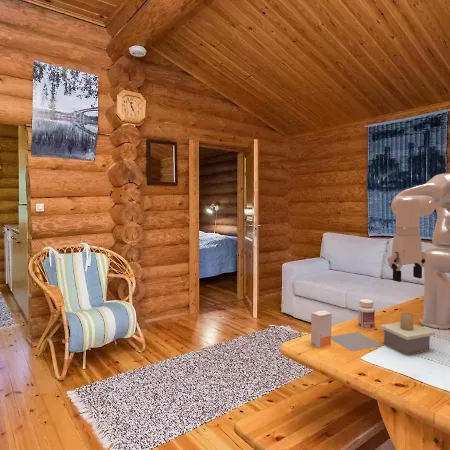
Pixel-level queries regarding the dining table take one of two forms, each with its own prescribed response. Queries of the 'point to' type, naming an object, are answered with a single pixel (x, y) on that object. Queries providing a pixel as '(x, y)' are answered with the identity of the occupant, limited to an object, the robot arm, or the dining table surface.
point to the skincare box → (321, 328)
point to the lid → (407, 328)
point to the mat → (355, 341)
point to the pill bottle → (366, 315)
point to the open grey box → (406, 343)
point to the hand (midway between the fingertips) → (407, 279)
